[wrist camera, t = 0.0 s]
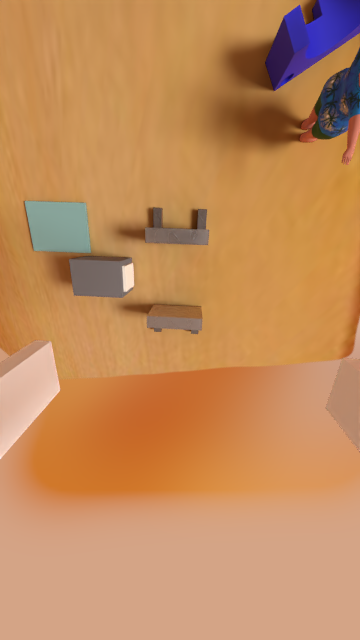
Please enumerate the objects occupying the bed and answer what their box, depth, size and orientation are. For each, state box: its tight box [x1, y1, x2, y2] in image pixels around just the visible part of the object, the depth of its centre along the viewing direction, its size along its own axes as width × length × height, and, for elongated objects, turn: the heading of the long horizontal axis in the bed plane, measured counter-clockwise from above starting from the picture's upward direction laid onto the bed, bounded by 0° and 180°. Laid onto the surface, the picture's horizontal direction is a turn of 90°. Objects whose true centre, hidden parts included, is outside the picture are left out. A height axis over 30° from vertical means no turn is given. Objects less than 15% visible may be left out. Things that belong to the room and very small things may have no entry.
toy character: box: [300, 48, 360, 165], centre depth 21 cm, size 12×5×15 cm, turn 3°
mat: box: [25, 201, 91, 253], centre depth 34 cm, size 7×9×1 cm
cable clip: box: [265, 0, 360, 91], centre depth 22 cm, size 12×4×6 cm, turn 119°
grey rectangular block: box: [69, 256, 134, 298], centre depth 33 cm, size 5×7×6 cm
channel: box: [145, 208, 209, 334], centre depth 33 cm, size 19×8×6 cm, turn 178°
